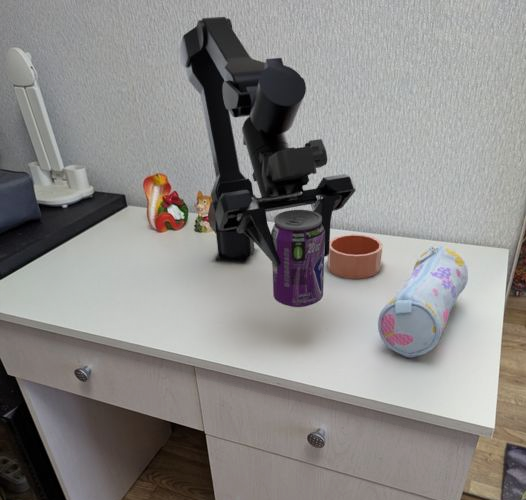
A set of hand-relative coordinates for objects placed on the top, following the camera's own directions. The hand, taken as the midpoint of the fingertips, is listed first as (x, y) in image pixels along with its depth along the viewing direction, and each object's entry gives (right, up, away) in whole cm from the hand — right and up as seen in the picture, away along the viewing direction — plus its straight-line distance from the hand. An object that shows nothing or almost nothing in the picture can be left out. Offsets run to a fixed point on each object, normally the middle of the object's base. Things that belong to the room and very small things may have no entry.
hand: (302, 260), depth 66 cm
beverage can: (0, -5, +5) cm, 7 cm away
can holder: (+12, +4, +27) cm, 30 cm away
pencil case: (+19, -8, +10) cm, 23 cm away
